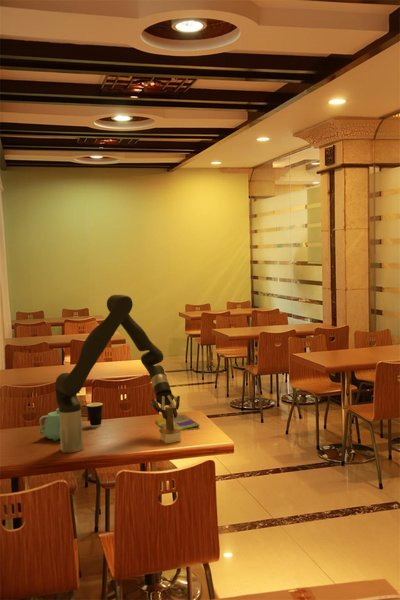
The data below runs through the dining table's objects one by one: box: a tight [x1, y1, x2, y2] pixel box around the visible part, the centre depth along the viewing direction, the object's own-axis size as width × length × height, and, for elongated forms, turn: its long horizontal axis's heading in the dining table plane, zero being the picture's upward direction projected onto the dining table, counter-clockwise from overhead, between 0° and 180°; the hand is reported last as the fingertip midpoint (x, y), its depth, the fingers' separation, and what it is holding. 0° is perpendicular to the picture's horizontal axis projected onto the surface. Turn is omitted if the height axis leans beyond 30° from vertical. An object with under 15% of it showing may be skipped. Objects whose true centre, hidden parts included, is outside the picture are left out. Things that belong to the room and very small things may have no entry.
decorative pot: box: [38, 407, 60, 442], centre depth 293 cm, size 16×16×14 cm
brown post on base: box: [159, 405, 182, 434], centre depth 278 cm, size 10×10×11 cm
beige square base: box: [160, 431, 182, 444], centre depth 278 cm, size 7×7×4 cm
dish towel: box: [154, 413, 200, 432], centre depth 305 cm, size 18×24×3 cm
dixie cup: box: [86, 402, 103, 428], centre depth 311 cm, size 8×8×11 cm
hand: (171, 417), depth 276 cm, fingers open, 4 cm apart
